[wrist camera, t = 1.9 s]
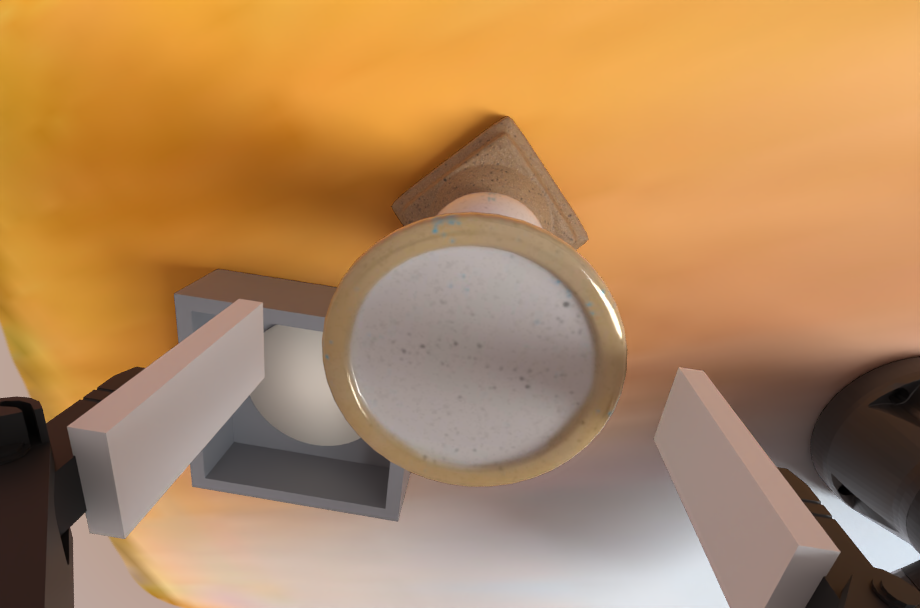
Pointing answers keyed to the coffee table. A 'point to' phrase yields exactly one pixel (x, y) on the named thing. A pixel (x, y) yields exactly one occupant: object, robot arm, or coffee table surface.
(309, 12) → the coffee table surface
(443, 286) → the candle holder
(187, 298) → the walled bin
